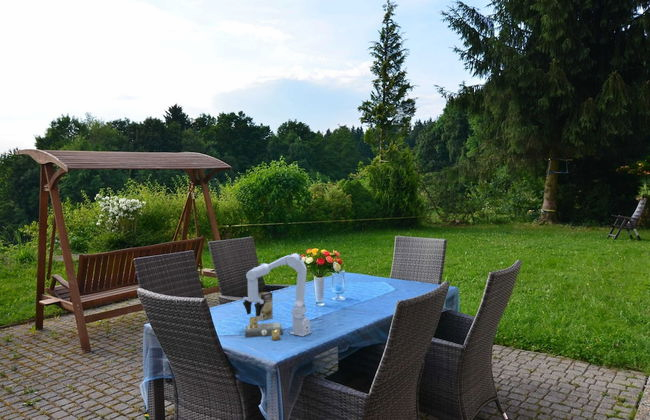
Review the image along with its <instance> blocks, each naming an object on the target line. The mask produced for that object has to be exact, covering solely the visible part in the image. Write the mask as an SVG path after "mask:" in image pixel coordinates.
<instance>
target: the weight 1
mask: <svg viewBox="0 0 650 420" xmlns="http://www.w3.org/2000/svg"><path fill="white" fill-rule="evenodd" d="M258 321H259V320H258V317H256V316H251V317H249V325H250V327H251V328H255V327H258V324H259V322H258Z"/></svg>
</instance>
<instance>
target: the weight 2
mask: <svg viewBox="0 0 650 420" xmlns="http://www.w3.org/2000/svg"><path fill="white" fill-rule="evenodd" d="M271 340H272V341H275V342H276V341H277V342H278V341H280V340H281V335H280V329H273V330H272V336H271Z"/></svg>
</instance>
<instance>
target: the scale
mask: <svg viewBox="0 0 650 420" xmlns="http://www.w3.org/2000/svg"><path fill="white" fill-rule="evenodd" d="M273 329H280V336H283V335H284V334H283V326H282V324H281V323H280V322H268V323H258V327H255V328H251V327H250V324H247V325H245V338H253V337H255V338H256V337H268V336H269V337H272V330H273Z"/></svg>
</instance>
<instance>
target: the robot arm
mask: <svg viewBox="0 0 650 420" xmlns="http://www.w3.org/2000/svg"><path fill="white" fill-rule="evenodd" d="M282 265H284V266H287V265H288V266H289V267H290V268H292V269H294V270H295V271H296V272H297V277H296V287H295V288H296V289H295V298H294V299H295V301H294V304H293V309H292V310H291V315H292V331H290V332H289V335H295V336H299V337H304V336H308V335H309V334H311V333H312V331H311V320H310V319H309V318H307V317H306V314H305V313H306V312H307V311H306V310H307V307H306V301H305V296H306V295H305V293H306V285H307V284H306V283H307V271H308V270H307V266H306V264H305V261H304V259H303V257H302V256H301V255H300V254H298V253H296V252H295V253H292V254H288V255H285V256H283V257H280V258H278V259H276V260H274V261H272V262H270V263H264V262H263V263H260V265H258V266H257V267H252V268H253V269H250V270H248V271H247V272H246V274H245V276H246V279H247V296H243V298H242V301H243V302H242V304H243V306H244V308H245V311H246V314H247V315H251V313H252V305H253V303H254V305H253V306H254V308H256V310H255V317H256V316H260V313H261V310H262V307H263V305H264V300H262V299H259V297H258V293H259V284H258V283H259V282H258V278H260V277H263V276H265V275H267V274H269V273H270V272H271V270H272V269H274V268H278V267H279V266H282ZM255 303H257V304H255Z"/></svg>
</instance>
